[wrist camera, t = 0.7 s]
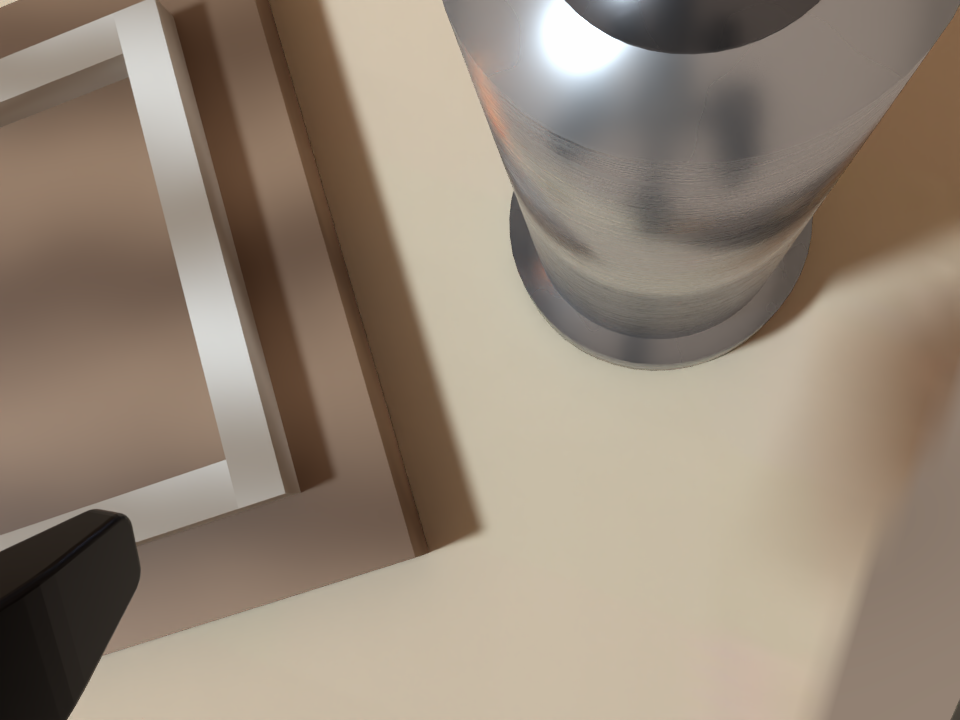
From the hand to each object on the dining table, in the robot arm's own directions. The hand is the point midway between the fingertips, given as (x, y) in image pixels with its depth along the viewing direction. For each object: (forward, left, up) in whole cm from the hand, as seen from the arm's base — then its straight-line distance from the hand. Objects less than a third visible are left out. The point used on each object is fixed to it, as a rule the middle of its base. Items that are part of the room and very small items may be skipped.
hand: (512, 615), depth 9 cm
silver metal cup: (+8, -2, -13) cm, 15 cm away
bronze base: (+5, +15, -13) cm, 20 cm away
